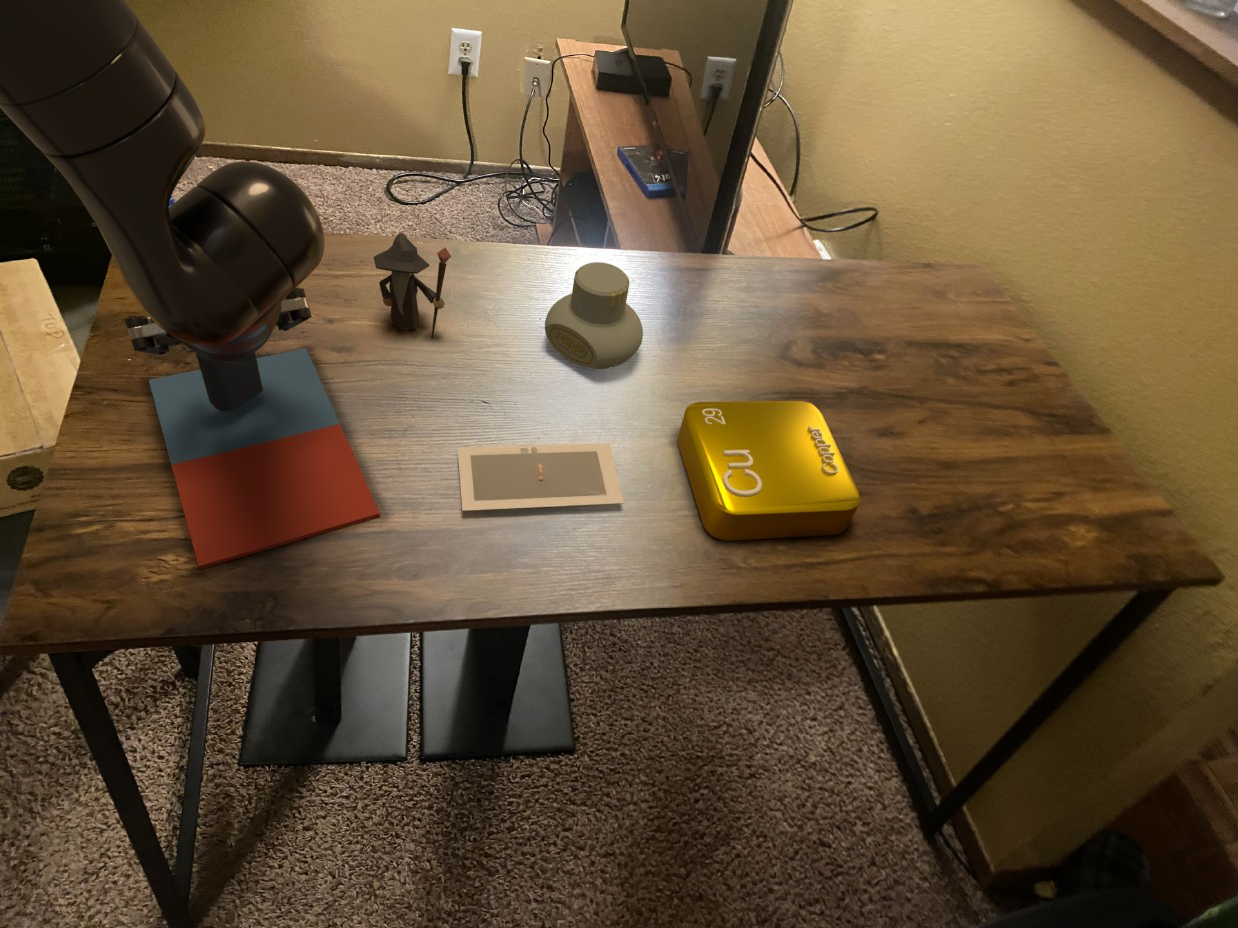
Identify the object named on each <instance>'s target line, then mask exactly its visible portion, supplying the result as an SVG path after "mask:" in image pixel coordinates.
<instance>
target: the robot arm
mask: <svg viewBox="0 0 1238 928" xmlns="http://www.w3.org/2000/svg"><path fill="white" fill-rule="evenodd" d="M0 110H1V111H2V112H3V113H4V114H5V115H6V116H7V117H8V118H9V119H10V121H12V122H13V123H14V124H15V125H16V127H17V128H18V129H19V130H20V131H21V132H22V133H23V134H24V136H26V137H27V138H28V139H29V140H30V141H31V143H33V144H34V145H35V147H36V148H37V149H39V151H40V152H41V153H42V154H43V155H44V156H45V157H46V158H47V159H48V161H49V162H50V163H51V164H52V165H53V166H54V167H55V168H56V169H57V170H58V172H59V173H60V174H61V175H62V177H63V178H64V179H65V181H67V184H69V185H70V187H71V188H72V190H73V191H74V192H75V194H76V195H77V196H78V198H79V199H80V201H81V203H82V204H83V206H84V207H85V209H86V211H87V212H88V214H89V215H90V217H91V218H92V220H93V222H94V224H95V225H96V227H97V229H98V231H99V232H100V234H101V236H102V238H103V240H104V242H105V244H106V246H107V248H108V250H109V252H110V253H111V256H112V258H113V260H114V261H115V264H116V266H117V268H118V270H119V272H120V274H121V275H122V278H123V280H124V282H125V283H126V285H127V287H128V288H129V290H130V292H131V293H132V295H133V296H134V298H135V300H136V301H137V303H138V304H139V306H140V307H141V309H143V311H144V312H145V313H146V314H147V316H138V315H131V316H129V317H128V318H125V319H124V322H125V325H126V328H127V332H128V335H129V339H130V341H131V345H132V348H133V350H134V351H136V352H139V353H147V354H152V355H159V356H162V355H166V353H168V352H170V348H169V347H172V346H175V348H176V350H177V351H182V352H187V353H193V352H194V353H195V354H196V353H197V354H199V355H201V356H204V357H206V358H210V359H214V360H222V361H230V360H237V359H241V358H244V357H247V356H249V355H251V354H253V353H255V354H256V352H258V351H259V350H260V349H262V348H263V346H264V345H266V343H267V342H268V340H269V338H270V337H271V335H272V333H273V331H274V329H275V327H277V328H278V330H279V331H283V332H287V331H290V329H293V328H295V327H296V326H299V325H300V324H302V323H304V322H305V321H308V320H309V319H310V318H313V317H312V313H311V309H310V306H309V303H308V299H307V296H306V293H305V288H303V287H301V288H299V287H298V286H300V285H301V283H303V282H304V281H305V280H306V279H307V278H309V276H310V275H311V274H312V273H313V272H314V271H315V270H316V268H318V267H319V265H320V263H321V261H322V260H323V257H324V254H325V253H324V252H325V233H324V227H323V224H322V221H321V218H320V215H319V213H318V211H317V209H316V207H315V205H314V204H313V202H312V200H311V199H310V197H309V196H308V195H307V194H306V192H305V190H303V188H301V187H300V186H299V185H298V184H297V183H296V182H295V181H294V180H293V179H291V178H290V177H289V176H288V175H286V174H285V173H282V172H281V171H280V170H278V169H276V168H275V167H274V168H273V167H272V166H269V165H266V164H264V163H260V162H255V161H246V160H245V161H242V160H241V161H233V162H230V163H227V164H224V165H221V166H220V167H218V168H216V169H215V170H214V171H212V172H211V173H209V174H208V175H207V176H205V177H204V178H203V179H202V180H201V181H200V182H198V183H197V184H196V185H195V186H193V187H192V188H191V189H190V190H188V191H187V192H186V193H185V194H183V196H181V197H180V198H178V199H177V200H176V201H175V202H174V203H172V204H171V205H170V202H171V198H172V196H173V193H174V191H175V189H176V188H177V185H178V183H179V182H180V181H181V179H182V177H183V176H184V175H185V173H186V172H187V170H188V168H189V167H190V165H191V164H192V163H193V161H194V160H195V158H196V157H197V155H198V153H199V152H200V150H201V147H202V146H203V143H204V141H205V136H206V129H207V128H206V127H207V126H206V120H205V115H204V113H203V111H202V109H201V107H200V104H199V103H198V101H197V99H196V97H194V95H193V93H192V92H191V90H190V89H189V87H188V86H187V84H186V83H185V82H184V80H183V79H182V77H180V75H179V74H178V72H177V71H176V70H175V68H174V67H173V65H172V63H171V62H170V61H169V60H168V58H167V57H166V55H165V53H164V52H163V51H162V49H161V48H160V47H159V45H158V44H157V42H156V41H155V40H154V38H153V37H152V36H151V34H150V32H149V31H148V30H147V29H146V27H145V25H143V23H142V21H141V20H140V18H139V17H138V16H137V15H136V14H135V12H134V11H133V9H132V8H131V6H130V5H129V3H128V2H127V1H126V0H0Z"/></svg>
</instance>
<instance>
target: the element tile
mask: <svg viewBox="0 0 1238 928" xmlns="http://www.w3.org/2000/svg"><path fill="white" fill-rule="evenodd" d="M677 445H678V448H679V450H680V454H681V458H682V461H683V464H684V467H685V470H686V474H687V477H688V481H689V484H690V487H691V490H692V494H693V496H694V499H695V503H696V506H697V511H698V513H699V517H700V519H701V523H702V525H703V527H704V529H705V531H706V532H707V533H708V535H710V536H711V537H713V538H715V539H717V540H722V541H728V542H729V541H731V542H732V541H744V540H745V541H747V540H748V541H749V540H750V541H751V540H766V539H767V540H769V539H784V538H785V539H787V538H805V537H806V538H807V537H822V536H823V537H825V536H835V535H839V534H841V533H843V532H844V531H845V530H846V529H847V527H848V525H849V523H850V521H851V520H852V518H853V517H854V515H855V513H856V511H857V509H858V508H859V506H860V504H861V495H860V491H859V488H858V487H857V485H856V483H855V480H854V478H853V476H852V474H851V471H850V470H849V467H848V465H847V464H846V461H845V459H844V457H843V454H842V453H841V450H840V449H839V446H838V445H837V443H836V440H835V439H834V436H833V434H832V432H831V430H830V428H829V426H828V424H827V422H826V419H825V417H824V415H823V413H822V412H821V410H820V409H818V408H817V406H815V404H813V403H811V402H808V401H804V400H741V401H739V400H736V401H735V400H734V401H733V400H731V401H730V400H729V401H728V400H727V401H696V402H694V403H690V404H689V405H688V406H686V407H685V410H684V414H683V418H682V420H681V424H680V428H679V431H678V435H677Z"/></svg>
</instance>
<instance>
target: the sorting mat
mask: <svg viewBox="0 0 1238 928" xmlns="http://www.w3.org/2000/svg"><path fill="white" fill-rule="evenodd" d="M256 359H257V364H258V369H259V373H260V378H261V382H262V387H263V391H262V392H261V393H260V394H258V395H256V396H255V397H253V398H252V399H250V400H248V401H247V402H245V403H244V404H242V405H240V406H239V407H237V408H236V409H234V410H232V411H228V412H224V411H219V410H217V409H216V408H215V407H214V406H213V405H212V404H211V402H210V401H209V398H208V395H207V391H206V387H205V384H204V380H203V377H202V373H201V370H200V369H196V370H191V371H185V372H180V373H174V374H170V375H165V376H160V377H155V378H150V379H148V383H149V388H150V391H151V395H152V398H153V403H154V406H155V410H156V414H157V417H158V421H159V425H160V429H161V433H162V436H163V438H164V439H163V440H164V444H165V447H166V450H167V451H166V452H167V454H168V455H167V456H168V459H169V462H170V466H171V469H172V474H173V477H174V481H175V484H176V488H177V492H178V495H179V499H180V503H181V508H182V511H183V514H184V518H185V521H186V526H187V529H188V534H189V536H190V540H191V544H192V548H193V552H194V555H195V556H194V557H195V560H196V563H197V567H198V569H199V570H203V569H206V568H209V567H213V566H217V565H220V564H223V563H226V562H230V561H234V560H237V559H240V558H243V557H247V556H250V555H251V556H252V555H254V554H258V553H261V552H264V551H268V550H271V549H274V548H278V547H281V546H284V545H288V544H291V543H294V542H297V541H302V540H304V539H309V538H311V537H312V538H313V537H314V536H319V535H321V534H325V533H329V532H332V531H335V530H339V529H342V528H345V527H349V526H352V525H355V524H359V523H362V522H366V521H369V520H373V519H376V518H379V517H381V514H380V510H379V508H378V506H377V504H376V501H375V500H374V497H373V495H372V492H371V490H370V488H369V485H368V484H367V482H366V481H367V480H366V479H365V477H364V474H363V472H362V470H361V467H360V465H359V463H358V460H357V459H356V456H355V454H354V452H353V449H352V448H351V445H350V443H349V440H348V439H347V436H346V434H345V432H344V429H343V427H342V425H341V422H340V421H339V418H338V416H337V414H336V412H335V410H334V407H333V404H332V402H331V401H330V397H329V396H328V393H327V392H326V391H327V390H326V389H325V387H324V384H323V383H322V380H321V377H320V375H319V373H318V371H317V369H316V366H315V365H314V362H313V359H312V357H311V355H310V352H309V351H308V349H307V348H306V347H305V348H300V349H295V350H290V351H284V352H280V353H274V354H270V355H265V356H260V357H256Z"/></svg>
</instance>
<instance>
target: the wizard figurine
mask: <svg viewBox="0 0 1238 928" xmlns="http://www.w3.org/2000/svg"><path fill="white" fill-rule="evenodd" d="M436 254H437V257H438V259H439V262H438V270H437V279H436V280H437V281H436V290H433V289H431V288H429V286H427V285H426V284H425V283H424V282H422V281H421V280H420V279H419V278H418V277H417V276H415V275H417V274H419V273H421V272H422V271H424V270H427V269H428V268H429V267H430V266H431V264H430V263H428V262H427V260H425V259H424V258H423V257H421V255H420V254H418V248H417V246H415V245H414V244H413V243H412V242H411V240H410V239H408V237H407V235H405V233H404V232H400V233H398V234H397V235H396V236H395V238H394V239H393V242H392V245H391V246H390V247H389V248H388V249H387V250H384V251H382V252H380V253H377V254H376V255H375V256H373V262H374V265H375V269H378V270H383V271H388V272H391V273H390V275H388V276H386V277H385V278H382V279H381V280H380V281H379V282H378V284H379V288H380V294H381V297H382V303H383V305H384V306H386V307H390V314H389V319H390V322H391V330H392V331H395V332H397V333H398V332H400V330H407V333H408V334H411V333H412V334H413V333H417V330H418V329H417V328H418V327H419V326H420V325H421V320H420V313H419V305H418V298H417V295H418V291H419V290H420V291H421V293H422V294H423V295H424V296H425V298H426V299H427V301H428V302H429V303H430V304H432V305H433V307H434V311H433V318H432V327H431V337H430V338H431V339H434V336H435V335H434V334H435V328H436V324H437V317H438V311H439V310H441V309H443V308H444V307H445V305H446V304H445V300H444V299H443V298H442V297H441V295H442V291H443V290H442V289H443V284H444V281H445V275H446V269H447V262H448V261H449V260H450V259H451V258H452V255H451V254H450V252H449V251H448V249H447V247H443V248H442V249H440V250H439V251H438V252H437V253H436ZM387 285H389V286H388V287H387ZM418 289H419V290H418Z"/></svg>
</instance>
